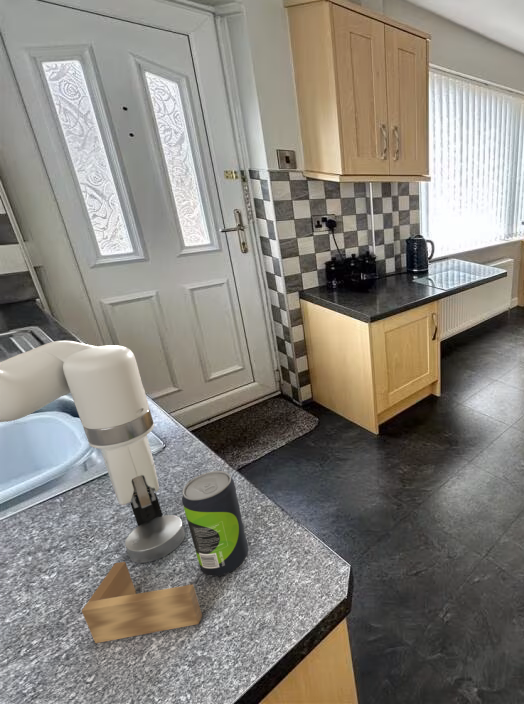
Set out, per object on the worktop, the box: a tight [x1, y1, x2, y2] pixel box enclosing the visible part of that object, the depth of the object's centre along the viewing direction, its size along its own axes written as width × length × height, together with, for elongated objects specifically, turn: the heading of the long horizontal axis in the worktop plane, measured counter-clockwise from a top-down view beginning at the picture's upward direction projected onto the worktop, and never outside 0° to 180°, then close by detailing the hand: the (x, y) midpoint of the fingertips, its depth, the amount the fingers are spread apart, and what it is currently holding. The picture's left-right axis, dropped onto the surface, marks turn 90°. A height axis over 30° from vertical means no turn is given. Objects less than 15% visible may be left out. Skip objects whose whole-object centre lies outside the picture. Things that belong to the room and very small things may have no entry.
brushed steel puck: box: [124, 514, 186, 564], centre depth 67 cm, size 7×7×2 cm
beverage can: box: [181, 470, 249, 577], centre depth 63 cm, size 6×6×15 cm
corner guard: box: [81, 561, 203, 644], centre depth 57 cm, size 12×7×6 cm, turn 104°
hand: (149, 518), depth 70 cm, fingers closed
